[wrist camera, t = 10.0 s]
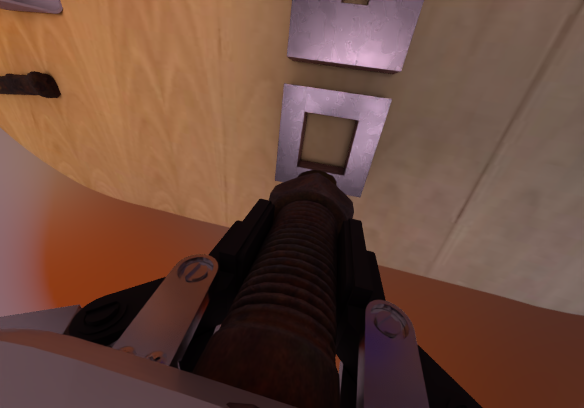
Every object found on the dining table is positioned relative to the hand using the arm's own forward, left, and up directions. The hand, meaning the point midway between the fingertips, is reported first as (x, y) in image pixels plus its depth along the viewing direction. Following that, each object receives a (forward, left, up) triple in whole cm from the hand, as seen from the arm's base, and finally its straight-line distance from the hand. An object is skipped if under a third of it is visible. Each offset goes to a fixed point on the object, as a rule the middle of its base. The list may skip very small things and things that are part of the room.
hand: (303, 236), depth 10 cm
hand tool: (+60, +1, -28) cm, 66 cm away
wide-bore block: (0, 0, -27) cm, 27 cm away
